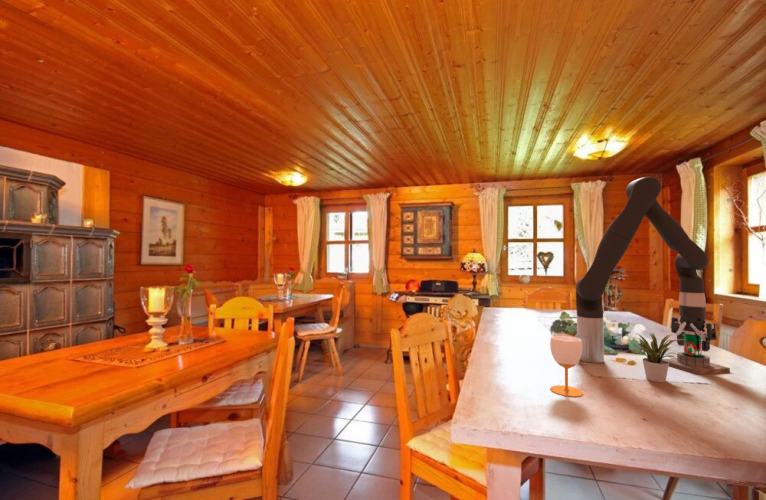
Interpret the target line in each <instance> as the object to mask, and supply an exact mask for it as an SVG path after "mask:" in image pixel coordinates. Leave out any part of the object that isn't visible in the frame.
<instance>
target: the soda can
mask: <svg viewBox="0 0 766 500" xmlns="http://www.w3.org/2000/svg"><path fill="white" fill-rule="evenodd" d="M683 336H684V339H685V340H684V346H683V352H684V355H685V356H689V357H696V358H702V355H703V354H702V353H703V351H702V341H703V340H702V339H701V337H700V336H699V335H697V333H696V332H692V331H687V330H685V332H684V333H683Z"/></svg>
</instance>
